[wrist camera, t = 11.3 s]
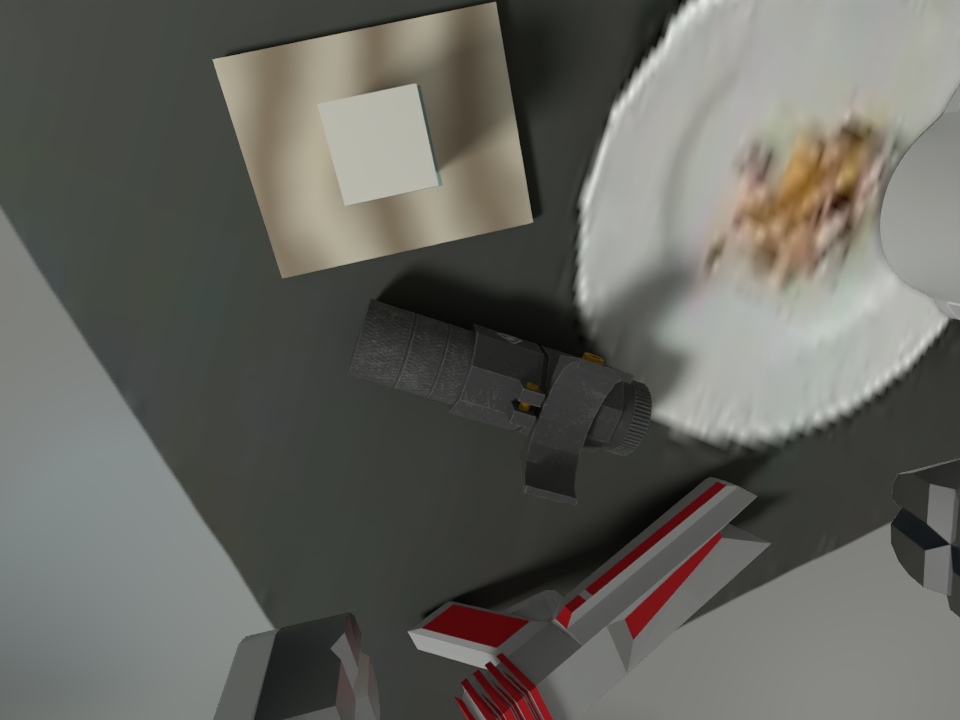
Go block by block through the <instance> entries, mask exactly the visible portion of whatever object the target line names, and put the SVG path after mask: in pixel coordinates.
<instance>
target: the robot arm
mask: <svg viewBox="0 0 960 720" xmlns="http://www.w3.org/2000/svg"><path fill="white" fill-rule="evenodd" d="M880 233H881V241H882V246H883V250H884V254H885V256H886V259H887V261H888V263H889V265H890V267H891V268H892V270H893V271H894V272H895V274H896V275H897V276H898V277H899V278H900V279H901V280H902V281H903V282H904V283H906V284H907V285H909V286H910V287H912V288H914V289H916V290H918V291H921V292H923V293H925V294H927V295H929V296H930V297H931V298H933V300H934V301H935V303H936V304H937V306H938V307H939V308H940V310H941V311H942V312H943V313H944V314H945V315H946V316H947V317H949V318H952V319H957V320H960V86H959V87H958V89H957V90H956V92H955V93H954V95H953V97H952V99H951V100H950V102H949V104H948V106H947V108H946V109H945V111H944V113H943V114H942V115H941V117H940V118H939V119H938V120H937V121H936V122H935V123H934V124H933V125H932V126H931V127H930V128H929V129H928V130H927V131H925V132H924V133H923V134H922V135H921V136H920V137H919V138H918V139H917V140H916V141H915V143H914V144H913V145H912V146H911V147H910V149H909V150H908V151H907V152H906V154H905V155H904V157H903V158H902V160H901V161H900V163H899V164H898V166H897V168H896V170H895V172H894V174H893V176H892V178H891V180H890V182H889V185H888V188H887V190H886V194H885V197H884V201H883V205H882V211H881V220H880ZM892 500H893V501H894V502H895V503H896V504H897V505H898V506H899V507H900V508H901V509H900V511H899V512H898V514H897V515H896V517H895V518H894V520H893V521H892V523H891V544H892V546H893V549H894V551H895V554H896V556H897V558H898V561H899V562H900V564H901V565H902V566H903V568H904V569H905V570H906V571H907V573H908V574H909V575H910V576H911V577H912V578H913V579H915V580H916V581H917V582H918V583H919V584H920V585H922V586H923V587H925V588H927V589H930V590H933V591H936V592H939V593H942V594H944V595H947V597H948V602H949V607H950V610H951V611H953V612H954V613H955V614H956V615H958V616H959V617H960V458H959V459H955V460H951V461H947V462H943V463H939V464H935V465H931V466H927V467H924V468H920V469H916V470H912V471H908V472H904V473H900V474H898V475H897V477H896V479H895V480H894V482H893V485H892ZM360 643H361V632H360V629H359V626H358V624H357V621H356V619H355V616H354V615H353V614H351V613H350V612H348V613H344V614H339V615H335V616H331V617H326V618H322V619H317V620H313V621H309V622H304V623H300V624H296V625H291V626H287V627H282V628H281V629H276V630H272V631H267V632H263V633H259V634H255V635H250V636H246V637H245V638H244V639H243V640H242V641H241V642H240V643H239V645H238V647H237V650H236V653H235V657H234V659H233V662H232V666H231V668H230V671H229V674H228V678H227V680H226V683H225V686H224V689H223V692H222V695H221V698H220V701H219V704H218V707H217V710H216V713H215V716H214V719H213V720H380V706H379V696H378V687H377V682H376V678H375V673H374V670H373V667H372V664H371V660H370V658H369V657H368V656H366V655H365V654H363V653H361V652H360Z"/></svg>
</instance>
